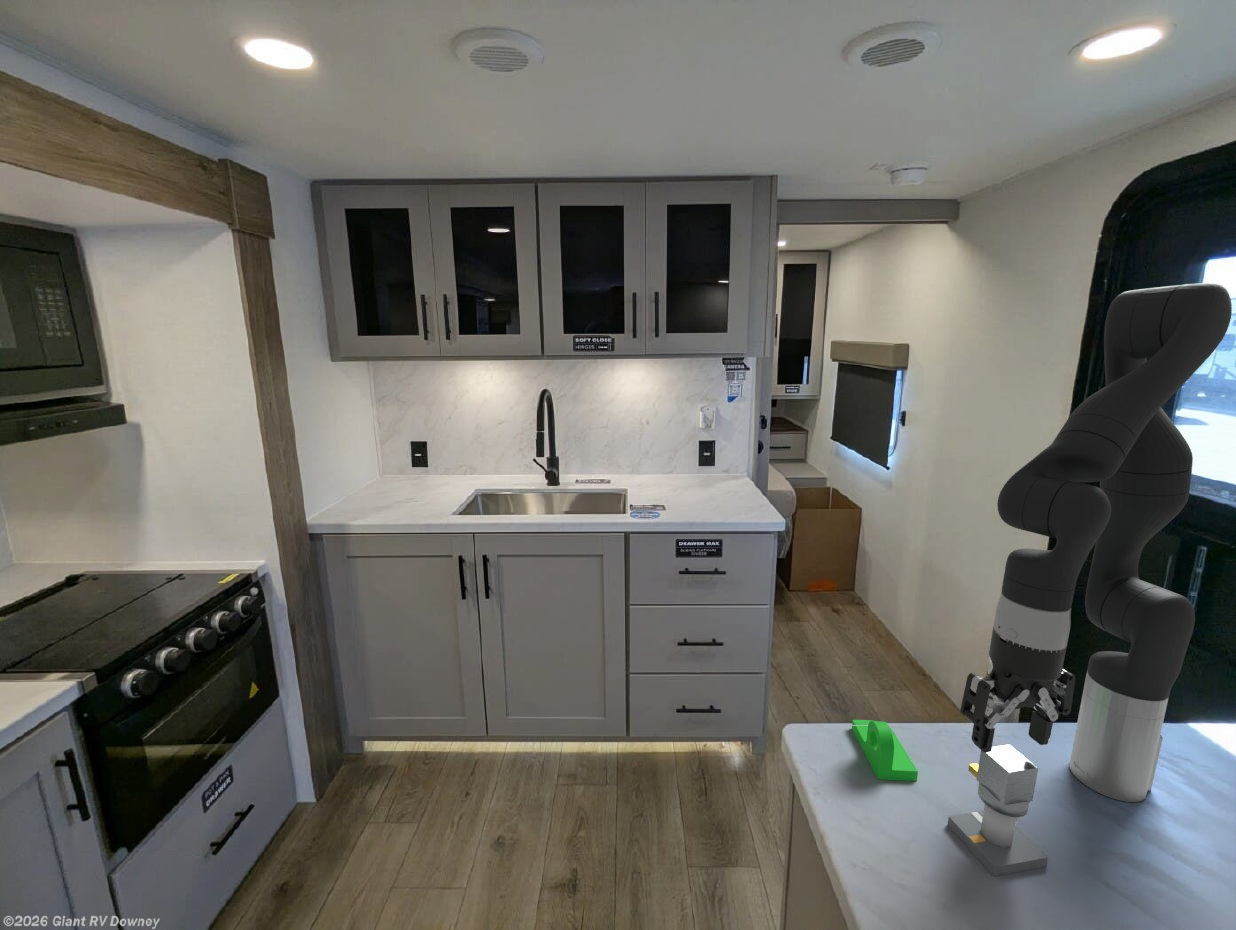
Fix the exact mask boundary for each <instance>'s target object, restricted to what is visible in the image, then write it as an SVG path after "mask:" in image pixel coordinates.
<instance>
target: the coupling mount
mask: <svg viewBox="0 0 1236 930" xmlns="http://www.w3.org/2000/svg"><path fill="white" fill-rule="evenodd" d="M1017 818H1018V817H1009V816H1005V815H1003V814H1000V813H998V812H996V811H994V810H992V809H991V808H989V807H988V806H987V805H986V804H985V803H984V807H983V810H979V811H973V812H972V811H971V812H966V813H960V814H955V815H949V816H948V819H947V826H948V827H949V828H950V829H951V831H952V832H953V833H954V834H955V835H956V836H957V837H958V838H959V839H960V840H961V842H962V843H963V844H964V845H965V846H966V847H967V848H968V849H969V851H971V853H972V854H973V855H974V856H975V857H976V858H977V859H978V861H979V862H980V863H981V864H982V865H983V866H984V867H985V869H987V870H988V872H989V873H990V874H991V875H992V876H993V877H996V876H1001V875H1007V874H1012V873H1017V872H1024V871H1027V870H1033V869H1039V868H1043V867H1047V864H1048V861H1049V860H1048V859H1049V856H1047V855H1046V854H1045V853H1044V852H1043V851H1042V850H1041V848H1039V847H1038V846H1037V845H1036V844H1035V843H1034V842H1033V841H1032V840H1031V839H1030V838H1029V837H1027V835H1026V834H1024V832H1023V831H1021V830H1020V828H1019V827H1017V826H1016V824H1017Z"/></svg>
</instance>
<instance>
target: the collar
mask: <svg viewBox="0 0 1236 930" xmlns="http://www.w3.org/2000/svg"><path fill="white" fill-rule="evenodd" d="M967 770H968V772H970V774H972V776H974V778H976V781H977V782H978V785H977V795H978V798H979V799H980V801H982V803H983V804H984V805H985V804H986V805H987V806H988V807H989V808H991V809H992V810H994V811H996V812H998V813H1000V814H1003V815H1005V816H1009V817H1017V818H1022V817H1025V816H1026V815H1027V814H1028V812H1029V811H1028V810H1029V808H1030V807H1029V806H1030V802H1033V799H1034V793H1035V789H1036V783H1037V777H1038V773H1039V767H1038V766H1036V764H1034V763H1033V762H1032V761H1030V760H1029V759H1028V758H1027V757H1025V756H1024V755H1023V754H1022V753H1021V752H1019V751H1018V750H1017V749H1016V748H1014V746H1012V745H1011V744H1003V745H997V746H992V749H991V752H983V751H982V750H981V749H980V755H979V761H978V763H969V764H968V769H967Z"/></svg>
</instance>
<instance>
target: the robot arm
mask: <svg viewBox="0 0 1236 930" xmlns="http://www.w3.org/2000/svg"><path fill="white" fill-rule="evenodd" d="M1232 308H1233V306H1232V299H1231V295H1230V293H1229V292H1228V290H1227V288H1225V287H1224V286H1223V285H1222V284H1218V283H1213V282H1198V283H1186V284H1176V285H1168V286H1167V285H1166V286H1160V287H1159V286H1158V287H1157V286H1156V287H1149V288H1140V289H1133V290H1128V291H1127V290H1126V291H1123V292H1121V293H1120V294H1118V295H1117V296H1116V297H1115V298H1114V299H1113V300H1112V301H1111V303H1110V305H1109V308H1108V310H1107V314H1106V317H1105V323H1104V332H1103V333H1104V334H1103V352H1104V374H1105V375H1104V376H1105V386H1104V387H1102V388H1101V389H1099V390H1098V391H1096V392H1094V393H1092V394H1091V395H1090V396H1088V397H1087V398H1086V399H1084V400H1083V401H1082V402H1081V403H1080V404H1079V405H1078V406H1077V407H1076V408H1075V409H1074V410H1073V411H1072V413H1071V414H1070V415H1069V417H1068V418H1067V420H1066V421H1065V422H1064V424H1063V426H1062V427H1061V429H1060V431H1059V432H1058V434H1057V435H1056V436H1055V438H1054V439H1053V441H1052V443H1051V444H1050V445H1049V446H1048V447H1046V448H1044V449H1043V450H1042V451H1040V452H1039V453H1038V454H1037V455H1036V456H1035V457H1034V458H1032V459H1031V460H1030V461H1029V462H1027V463H1026V464H1024V465H1023V466H1022V467H1020V469H1019V470H1017V471H1016V472H1014V474H1013V475H1011V476H1010V477H1009V479H1008V480H1007V481H1006V482H1005V483H1004V485H1003V487H1002V488H1001V490H1000V492H999V494H998V499H997V503H996V504H997V511H998V514H999V517H1000V519H1001V520H1002V521H1003V522H1004V523H1005V525H1008V526H1010V527H1012V528H1014V529H1018V530H1021V531H1026V532H1030V533H1033V534H1037V535H1041V536H1045V537H1048V538H1052V539H1056V542H1055V543H1056V544H1055V546H1054V547H1053V549H1051V550H1050V549H1049V550H1048V549H1040V548H1019V549H1015V550H1012V551H1011V552H1010V553H1009V554H1008V556H1007V558H1006V562H1005V567H1004V573H1003V574H1004V575H1003V581H1002V586H1001V592H1000V597H999V599H998V601H997V603H996V604H997V605H996V608H995V614H994V620H993V626H992V631H991V639H990V643H989V644H990V645H989V650H988V655H989V658H990V660H991V664H992V669H991V671H990V672H989V674H988V676H979V675H977V674H976V673H975V672H971V673H969V674H968V675H967V677H966V682H965V687H964V691H963V697H962V700H961V704H960V705H961V706H960V710H959V712H960V714H961V715H963V716H964V717H965V718H967V719H968V720H969V721H970V722H971V723H973V726H972V732H971V733H972V734H971V741H972V742H973V744H974V745H975V746H976V747H977V748H978V749H979V750H980V751H981V750H982V751H983V752H991V749H992V747H993V743H994V742H993V741H994V737H995V730H996V728H995V726H996V725H997V724H998V722H999V721H1000V720H1001V719H1002V718H1008V717H1009V716H1010V715H1011V713H1012V712H1013V711H1014V710H1019V709H1022V708H1029V709H1030V708H1033V709H1034V710H1032V711H1031V717H1030V723H1029V728H1028V736H1029V737H1030V738H1031V739H1032V740H1033V741H1035V742H1036V743H1037V744H1038V745H1040V746H1045V745H1048V744H1049V739H1051V736H1052V735H1051V734H1052V729H1053V725H1054V722H1056V721H1057V720H1058V719H1059V715H1061V714H1062V715H1063V716H1068V715H1070V713H1071V712H1072V705H1073V699H1074V693H1075V692H1074V691H1075V684H1076V675H1075V674H1073V673H1071V672H1070V671H1068V670H1066V669H1065V668H1063V667H1064V664H1065V663H1064V661H1065V657H1066V652H1067V647H1068V642H1069V637H1070V633H1071V632H1070V631H1071V626H1072V625H1071V624H1072V621H1071V620H1072V619H1071V617H1072V605H1073V601H1074V595H1075V589H1076V587H1077V581H1078V579H1079V578H1078V577H1079V575H1080V572H1081V571H1082V569H1083V566H1084V564H1085V561H1086V560H1087V558H1088V556H1089V554H1090V552H1091V551H1092V549H1093V547H1094V550H1093V555H1092V560H1091V564H1090V570H1089V573H1088V574H1089V575H1088V580H1087V584H1086V588H1085V589H1086V590H1085V595H1084V596H1085V598H1084V606H1085V607H1084V608H1085V614H1086V616H1087V618H1088V620H1089V621H1090V622H1091V623H1092V624H1093V625H1095V626H1096V627H1097V628H1099V629H1101V630H1102V631H1104V632H1107V633H1108V634H1111V635H1113V636H1114V637H1115V636H1116V638H1118V639H1121V640H1123V641H1126V642H1128V643H1129V644H1131V645H1130V647H1129V651H1128V652H1123V651H1113V650H1109V651H1108V650H1107V651H1106V650H1105V651H1103V650H1102V651H1097V652H1094V653H1093V654H1092V655H1090V658H1089V660H1088V665H1087V669H1086V675H1085V680H1084V685H1083V691H1082V696H1081V702H1080V706H1079V712H1078V718H1077V722H1076V728H1075V731H1074V732H1075V733H1074V737H1073V743H1072V749H1071V754H1070V760H1069V766H1068V767H1069V770H1070V772H1071V773H1072V774H1073V776H1074V777H1075V778H1076V779H1077V780H1078V781H1080V783H1082V784H1083V785H1085V786H1086V787H1088V788H1089V789H1091V790H1093V791H1094V792H1096V793H1099V794H1101V795H1103V796H1105V797H1108V798H1110V799H1113V800H1117V801H1119V802H1125V803H1127V802H1128V803H1138V802H1139V803H1140V802H1142V801H1144V800H1145V799H1146V797H1147V794H1148V791H1152V788H1153V784H1154V778H1155V775H1156V771H1157V765H1158V761H1159V757H1160V753H1161V748H1162V744H1163V736H1162V729H1163V724H1164V719H1165V716H1166V711H1167V706H1168V701H1169V697H1170V693H1171V690H1172V688H1173V686H1174V684H1175V683H1176V681H1177V679H1178V678H1179V675H1180V673H1181V671H1182V667H1183V665H1184V659H1185V657H1186V654H1187V651H1188V647H1189V644H1190V641H1191V638H1192V635H1193V632H1194V628H1195V623H1196V612H1195V611H1196V610H1195V607H1194V606H1193V603H1192V602H1191V601H1190V599H1188V598H1187V597H1186V596H1184V595H1182V594H1179V593H1176V592H1174V591H1173V590H1168V588H1167V589H1166V588H1164V587H1161V586H1158V585H1156V584H1153V583H1150V582H1147V581H1145V580H1142V579H1140V577H1139V564H1140V557H1141V555H1142V552H1143V550H1144V548H1145V546H1146V544H1147V543H1148V542H1149V541H1150V540H1151V539H1152V538H1153V537H1154V536H1155V535H1156V534H1157V533H1158V532H1160V531H1161V530H1162V529H1163V528H1165V527H1166V526H1167V525H1168V524H1169V523H1170V522H1172V520H1174V519H1175V518H1176V517H1177V516H1178V515H1179V514H1180V513H1181V512H1182V510H1183V509H1184V507H1185V506H1186V504H1187V503H1188V500H1189V496H1190V489H1191V480H1192V473H1193V471H1192V470H1193V464H1194V463H1193V461H1194V458H1193V452H1192V449H1191V448H1190V445H1189V443H1188V442H1187V439H1185V437H1184V436H1183V434H1182V433H1181V432H1180V430H1179V428H1178V427H1177V426H1176V425H1175V424H1174V422H1173V421H1172V419H1171V418H1170V417H1169V416H1168V415H1167V413H1166V412H1165V410H1164V409H1163V408H1162V406H1164V405H1165V403H1167V402H1168V401H1169V400H1170V398H1172V396H1173V395H1174V394H1176V392H1177V391H1178V390H1179V389H1180V388H1181V387H1182V386H1184V384H1185V383H1186V382H1187V381H1188V380H1190V378H1191V377H1192V376H1193V375H1194V373H1195V372H1197V370H1198V369H1199V368H1200V367H1201V366H1202V365H1203V364H1204V363H1205V362H1206V361H1207V360H1208V359H1209V358H1210V356H1211V355H1212V354H1213V353H1214V351H1215V350H1216V349H1217V348H1218V346H1219V345H1220V344H1221V342H1222V341H1223V339H1224V337H1225V336H1226V333H1227V332H1228V329H1229V326H1230V323H1231V321H1232V312H1233V311H1232V310H1233V309H1232ZM1097 482H1099V486H1096V485H1092V484H1090V483H1097ZM994 697H996V698H997V699H998V701H1000V702H1001V703H1002V705H998V704H997V703H996V702H995V701H994V700H993V699H994ZM1058 697H1060V699H1061V700H1059V699H1058ZM973 707H974V708H973ZM989 708H992V711H991V713H990V714H989V715H987V714H986V712H987V711H988V710H989Z"/></svg>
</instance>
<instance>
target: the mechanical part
mask: <svg viewBox="0 0 1236 930" xmlns="http://www.w3.org/2000/svg"><path fill="white" fill-rule="evenodd" d="M852 725H868V726H852ZM851 730H852V732H853V734H854V736H855V738H856V740H857V742H858V743H859V745H860V747H861V749H862V752H863V753H864V755H865V756H866V757H865V758H866V759H867V761H868V763H869V765H870V767H871V769H872V771H873V773H874V775H875V777H876V779H877V780H886V781H887V780H889V781H890V780H892V781H908V782H910V781H914V782H917V781H918V773H919V771H918V769H917V767H916V765H915V764H914V762H913V761H912V758H910V756H909V755H908V753H907V751H906V750H905V748H904V746H903V745H902V743H901V742H900V740H899V738H898V736H897V735H896V734H895V732H894V731H893V729H892V728H890V725H889V724H888V722H887V721H881V720H880V721H878V720H872V719H871V720H870V719H869V720H867V719H852V722H851Z"/></svg>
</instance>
